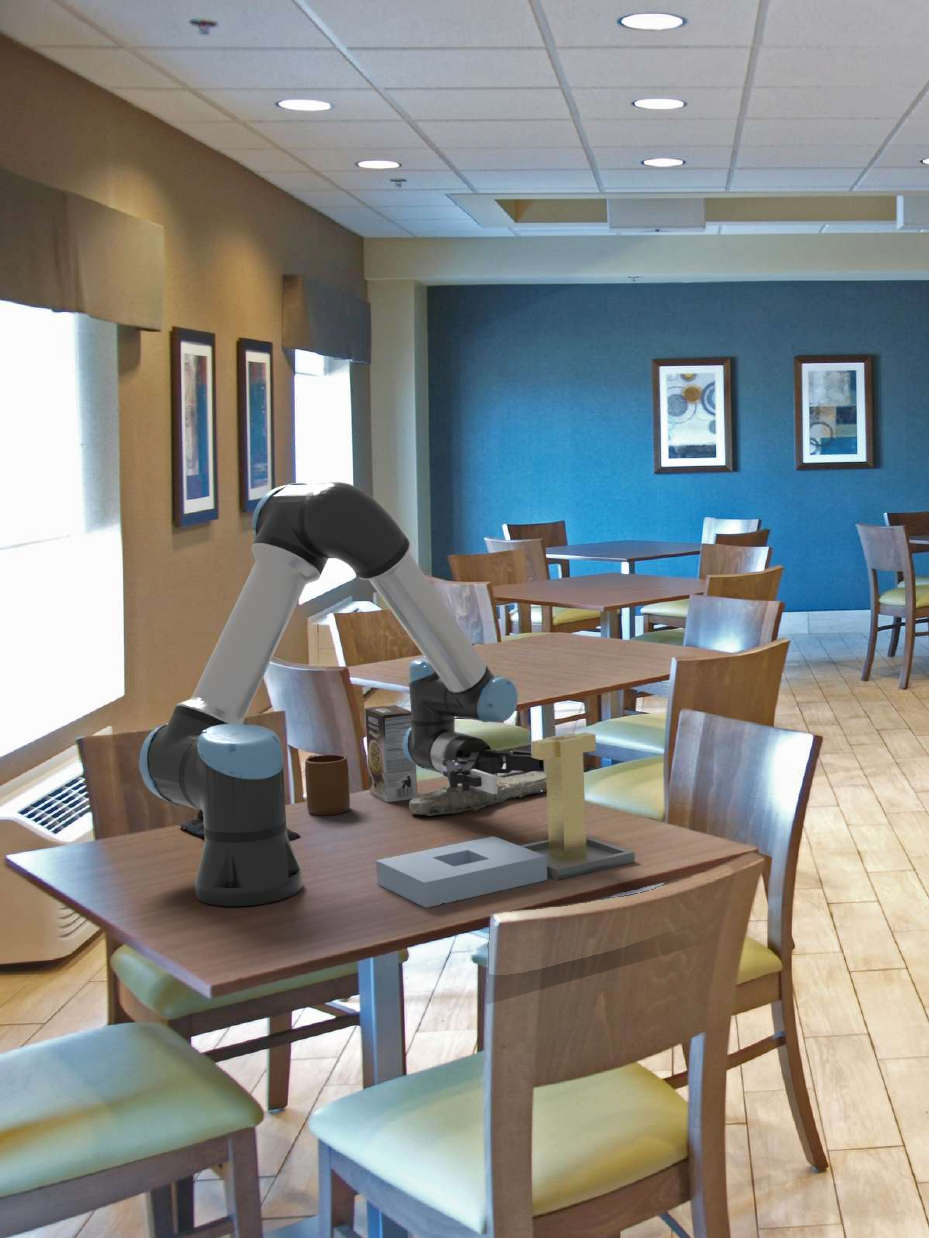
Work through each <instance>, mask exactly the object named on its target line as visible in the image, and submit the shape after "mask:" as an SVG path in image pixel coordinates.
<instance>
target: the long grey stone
mask: <svg viewBox="0 0 929 1238" xmlns="http://www.w3.org/2000/svg"><path fill="white" fill-rule="evenodd" d="M540 790H543V791H547V785H546V774H544V772H539V771H528V772H526V773H522V774H515V775H510V776H505V777H500V778H497V792H498V793H497V794H491V793H488V792H485V791H482V790H479V789H476V788H473V787H471V786H470V791H462V784H458V787H456V788H452V787H450V785H447V786H440V787H439V788H438V789H437V790H433V791H430V792H427V793H425V794H422V795H419V796H417V798H413V799H410V800H409V803H408V804H409V805H408V807H409V812H410V813H411V814H415V815H421V816H423V815H425V816H428V817H432V816H439V815H451V814H453V815H456V814H459V813H460V814H461V813H465V812H468V811H478V810H481V809H484V808H485V807H487V806H492V805H493V806H494V805H496V804H501V803H502V802H504V801H506V800H508V799H515V798H519V799H522V798H523V797H525V796H527V795H532V794H538V793H539V794H541V793H542V792H541V791H540ZM480 808H481V809H480Z"/></svg>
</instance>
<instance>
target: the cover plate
mask: <svg viewBox="0 0 929 1238" xmlns="http://www.w3.org/2000/svg"><path fill="white" fill-rule="evenodd" d="M375 863H376V865H375V866H376V881H377V882H376V884H377V885H378V886H381V887H383V888H385V889H386V890H388V891H390V892H393V893H395V894H397V895H398V896H401V897H403V898H404V899H407V900H409V901H411V902H413V903H415V904H417V905H419V906H421V907H422V908H425V909H427V908H432V907H435V906H439V905H440V904H441V905H443V904H442V903H445V904H448V903H453V901H454V902H457V900H458V901H461V900H462V901H463V900H465V899H469V898H470V899H471V898H475V897H479V896H483V895H488V894H491V893H496V892H500V890H501V891H504V890H509V889H510V890H511V889H513V888H517V887H518V888H519V887H522V886H528V885H532V884H536V883H540V882H544V881H548V876H547V860H546V856H545V855H543V854H540V853H537V852H535V851H532V850H529V849H527V848H524V847H521V845H519V844H515V843H514V842H510V841H507V840H505V839H502V838H499V837H497V836H493V835H492V836H488V837H484V838H483V837H482V838H477V839H474V840H467V841H463V842H459V843H453V844H449V845H444V846H439V847H434V848H430V849H426V850H421V851H415V852H410V853H404V854H402V855H401V854H400V855H395V856H392V857H386V858H381V859H377V860H375ZM441 905H440V906H441Z"/></svg>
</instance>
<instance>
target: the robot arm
mask: <svg viewBox="0 0 929 1238" xmlns="http://www.w3.org/2000/svg"><path fill="white" fill-rule="evenodd" d="M251 523H252V524H251V527H252V528H253V538H254V542H253V544H252V546H251V547H250V549H251V551H252V554H253V557H254V559H255V560H254V563H253V566H252V568H251V570H250V573H249V575H248V577H247V579H246V580H245V581H246V582H245V583H244V585H243V587H242V590H241V592H240V594H239V596H238V598H237V601H236V602H235V605H234V606H233V609H232V611H231V613H230V615H229V618H228V620H227V622H226V623H225V626H224V628H223V630H222V632H221V634H220V636H219V638H218V641H217V642H216V645H215V646H214V649H213V651H212V653H211V656H210V657H209V660H208V662H207V664H206V666H205V668H204V670H203V673H202V674H201V677H200V679H199V681H198V682H197V685H196V687H195V689H194V692H193V694H192V696H191V697H190V698H189V699H187V700H184V701H182V702H179V703H177V704H176V706H175V708H174V710H173V711H172V713H171V716H170V718H169V720H168V722H167V723H163V724H161V725H160V726H158V727H156V728H154V729H153V730H151V732H150V733H149V734H148V735H147V736H146V738H145V740H144V741H143V743H142V746H141V749H140V754H139V770H140V774H141V777H142V779H143V782H144V784H145V785H146V788H148V790H149V791H150V792H151V793H153V795H155V796H157V797H158V798H160V799H162V800H164V801H165V802H168V803H171V804H172V805H175V806H185V807H187V808H188V807H189V808H192V809H195V810H197V811H199V810H201V811H203V820H204V834H205V837H204V844H203V847H202V853H201V856H200V861H199V863H198V867H197V872H196V876H195V879H194V880H195V881H194V885H195V897H196V900H197V899H198V900H199V901H200V902H201V903H205V904H208V905H213V906H218V907H219V906H220V907H249V906H257V905H263V904H270V903H272V902H278V901H281V900H284V899H287V898H289V897H292V896H294V895H296V894H297V893H299V891H301V890H302V888H303V877H302V869H301V867H300V864H299V861H298V860H297V859H298V858H297V857H296V854H295V852H294V849H293V846H292V843H291V840H289V839H288V836H287V828H288V827H287V813H286V794H285V779H284V778H285V777H284V773H285V772H284V763H285V758H284V755H283V754H284V753H283V749H282V743H281V739H280V738H279V735H278V734H277V733H276V732H275V731H273V730H272V729H270V728H268V727H264V726H262V725H257V724H244V721H245V718H246V715H247V714H248V711H249V709H250V708H251V705H252V702H253V700H254V698H255V696H256V694H257V691H258V690H259V688H260V687H261V686H260V685H261V683H262V680H263V678H264V677H265V674H266V672H267V670H268V668H269V665H270V663H271V661H272V659H273V657H274V654H275V653H276V650H277V649H278V646H279V644H280V641H281V640H282V638H283V635H284V633H285V631H286V629H287V626H288V624H289V621H290V619H291V617H292V615H293V613H294V611H295V608H296V607H297V604H298V602H299V600H300V597H301V596H302V593H303V591H304V589H305V586H306V585H308V584H310V583H313V582H316V581H318V580H319V579H320V578H321V575H322V573H323V571H324V569H325V567H326V565H327V562H328V560H329V559H337V560H339V561H342V562H343V563H345V564H347V565H348V566H349V567H350V568H351V569H352V570H353V571H354V573H355V574H356V576H357V577H358V578H359V579H360V580H363V581H369V583H370V585H372V587H373V588H374V589H375V591H376V593H378V595H379V596H380V598H381V599H382V600H383V602H384V603H385V605H386V606H387V607H388V608H389V610H390V611H391V613H392V614H393V615H394V617H395V618H396V620H397V621H398V623H399V624H400V625H401V626H402V628H403V629H404V630H405V632H406V634H407V635H408V636H409V637H410V639H411V640H412V642H413V643H414V645H415V646H416V647H417V649H418V650H419V652H420V653H421V654H422V656H423V657H421V658H416V659H414V660H412V661H411V662H410V663H409V670H408V672H409V673H408V674H409V675H408V676H409V677H408V686H409V688H408V689H409V701H410V711H411V718H412V719H411V720H412V723H411V727H410V728H409V729H408V730H407V732H406V734H405V736H404V739H403V742H402V747H403V751H404V754H405V756H406V757H407V759H408V760H409V761H411V762H412V763H414V764H416V767H419V768H421V769H423V770H424V769H425V770H428V771H432V772H437V773H439V774H442V775H443V776H444V777H445V778H447V780H448V784H449V785H448V786H450V787H452V788H456V787H458V784H462V791H470V786H471V787H473V788H476V789H479V790H482V791H485V792H488V793H491V794H497V793H498V792H497V779H498V776H497V775H496V774H510V773H511V772H513V771H514V772H533V771H539V772H544V774H546V760H545V759H544V760H539V759H535V758H532V755H531V750H520V749H517V748H516V749H515V748H509V749H508V748H507V751H504V750H502V751H501V750H500V751H499V750H496V749H492V748H491V747H490V745H489V743H488V742H486V741H485V740H484V739H482V738H479V737H478V736H473V735H468V734H465V733H463V732H458V731H456V728H455V726H456V725H455V722H456V718H460V719H461V718H462V719H467V720H473V721H477V722H482V723H504V722H506V721H507V720H509V719H510V718H511V717H512V716H513V714H514V713H515V711H516V709H517V707H518V702H519V694H518V690H517V687H516V686H515V684H514V683H513V681H512V680H510V679H508V678H505V677H502V675H501V676H500V675H494V674H493V673H492V670H490V668H489V667H488V665H487V664H486V663H485V661H484V660H483V658H482V656H481V655H480V654H479V652H478V651H477V649H476V647H474V645H473V644H472V642H471V640H470V638H468V637H467V635H466V633H465V632H464V630H463V629H462V627H461V626H460V625H459V623H458V622H457V620H456V619H455V617H454V616H453V614H452V613H451V611H450V610H449V609H448V607H447V606H446V604H445V603H444V602H443V600H442V598H441V597H440V596H439V594H438V592H437V591H436V590H435V588H434V587H433V585H432V584H431V583H430V581H429V580H428V578H427V577H426V575H425V574H424V572H423V571H422V569H421V568H420V566H419V565H418V563H417V561H416V560H415V558H414V557H413V556H412V555H411V554H410V549H411V542H410V540H409V539H408V537H407V535H405V533H404V532H403V531H402V528H400V526H399V524H398V523H397V522H396V521H395V519H394V518H393V517H392V516H391V515H390V514H389V512H388V511H387V510H386V509H385V508H384V507H383V505H381V504H380V503H379V502H378V501H377V500H375V498H373V497H372V496H371V495H369V493H367V492H365V491H364V490H362V489H361V488H359V487H357V486H355V485H352V484H350V483H345V482H340V481H339V482H338V481H337V482H335V481H334V482H325V483H310V484H308V483H304V482H303V483H301V482H297V483H295V482H293V483H289V484H286V485H282V486H278V487H275V488H274V489H273V488H272V490H269V491H268V492H267V493H265V495H264V496H263V497H262V498H261V499H260V500H259V502H258V503H257V505H256V507H255V509H254V512H253V516H252V522H251ZM504 762H505V763H504ZM504 764H505V768H503V767H504Z"/></svg>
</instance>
